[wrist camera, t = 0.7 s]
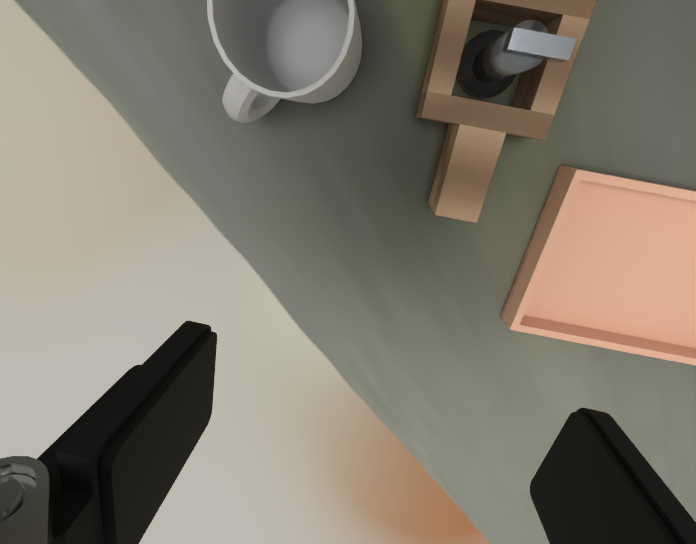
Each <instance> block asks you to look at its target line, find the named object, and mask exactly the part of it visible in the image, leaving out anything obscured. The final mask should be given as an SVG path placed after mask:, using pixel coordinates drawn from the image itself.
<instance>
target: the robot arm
mask: <svg viewBox="0 0 696 544" xmlns="http://www.w3.org/2000/svg"><path fill="white" fill-rule="evenodd" d="M216 344H217V334H216V333H215V332H211V327H210V326H209V325H205V324H201V323H196V322H192V321H186V322H185V323H183V324H182V325H181V327H179V329H178V330H176V331H175V332H174V334H172V336H170V337H169V338H168V339H167V340H166V341H165V342H164V343H163V344H162V346H160V347H159V348H158V349H157V350H156V352H154V353H153V354H152V355H151V356H150V357H149V358H148V359H147V360H146V361H145V362H144V363H143V364H142V365H136V366H134V367H133V368H131V369H130V370H129V371H127V372H126V373H125V374H124V375H123V376H122V377H121V378H120V379H119V380H118V381H117V382H116V383H115V384H114V385H113V386H112V387H111V388H110V389H109V390H108V391H107V392H106V393H105V394H104V395H103V396H102V397H101V398H100V399H99V400H97V401H96V402H95V403H94V404H93V405H92V406H91V407H90V408H89V409H88V410H87V411H86V412H85V413H84V414H83V415H82V416H81V417H80V418H79V419H78V420H77V421H76V422H75V423H74V424H73V425H72V426H71V427H70V428H68V429H67V431H66V432H64V433H63V434H62V435H61V436H60V437H59V438H58V439H57V440H56V441H55V442H54V443H53V444H52V445H51V446H50V447H49V448H48V449H47V450H46V451H45V452H44V453H43V454H42V455H40V456H39V458H37V459H34V458H31V457H28V456H12V457H7V458H1V459H0V544H139V542H140V540H141V538H142V537H143V534H144V533H145V532H146V530H147V528H148V526H149V525H150V523H151V521H152V519H153V518H154V516H155V514H156V513H157V511H158V509H159V507H160V506H161V504H162V502H163V501H164V499H165V497H166V495H167V494H168V492H169V490H170V489H171V487H172V485H173V483H174V482H175V480H176V478H177V476H178V475H179V473H180V471H181V470H182V468H183V466H184V464H185V463H186V461H187V459H188V457H189V456H190V454H191V452H192V451H193V449H194V447H195V445H196V444H197V442H198V440H199V439H200V437H201V435H202V433H203V432H204V430H205V428H206V427H207V425H208V422H209V420H210V417H211V413H212V403H213V388H214V373H215V359H216ZM530 494H531V498H532V500H533V503H534V505H535V508H536V510H537V513H538V515H539V518H540V520H541V523H542V525H543V528H544V530H545V532H546V535H547V537H548V540H549V542H550V544H696V522H695V521H694V520H693V518H692V517H691V516H690V515H689V513H688V512H687V511H686V510H685V508H684V507H683V506H682V505H681V503H680V502H679V501H678V500H677V498H676V497H675V496H674V495H673V493H672V492H671V491H670V489H669V488H668V487H667V486H666V484H665V483H664V482H663V481H662V479H661V478H660V477H659V476H658V474H657V473H656V472H655V471H654V469H653V468H652V467H651V466H650V464H649V463H648V462H647V461H646V459H645V458H644V457H643V456H642V454H641V453H640V452H639V451H638V449H637V448H636V447H635V445H634V444H633V443H632V442H631V440H630V439H629V438H628V437H627V435H626V434H625V433H624V432H623V430H622V429H621V428H620V427H619V425H618V424H617V423H616V422H615V420H614V419H613V418H612V417H611V416H610V415H609V414H607V413H605V412H601V411H596V410H591V409H587V408H580V409H578V410H577V411H576V412H573V413H571V414H570V416H569V417H568V419H567V421H566V422H565V424H564V426H563V428H562V429H561V431H560V433H559V435H558V436H557V438H556V440H555V441H554V443H553V445H552V447H551V448H550V450H549V452H548V453H547V455H546V457H545V459H544V460H543V462H542V464H541V466H540V467H539V469H538V471H537V472H536V474H535V476H534V478H533V479H532V481H531V484H530Z"/></svg>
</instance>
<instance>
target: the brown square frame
mask: <svg viewBox="0 0 696 544" xmlns="http://www.w3.org/2000/svg"><path fill="white" fill-rule="evenodd" d="M596 1H597V0H442V4H441V9H440V13H439V18H438V22H437V26H436V31H435V35H434V39H433V44H432V48H431V53H430V57H429V61H428V66H427V70H426V75H425V79H424V83H423V88H422V92H421V97H420V101H419V105H418V110H417V114H416V117H417V118H422V119H427V120H433V121H438V122H444V123H449V125H448V129H447V133H446V137H445V141H444V144H443V148H442V152H441V156H440V160H439V163H438V167H437V171H436V175H435V178H434V182H433V186H432V190H431V194H430V197H429V201H428V204H429V205H430V207H431V209H432V211H433V212H434V214H435V215H438V216H443V217H448V218H454V219H459V220H464V221H470V222H475V223H477V221H478V218H479V215H480V212H481V209H482V206H483V203H484V199H485V196H486V193H487V190H488V187H489V184H490V181H491V178H492V175H493V172H494V169H495V166H496V163H497V160H498V157H499V154H500V151H501V147H502V144H503V141H504V138H505V135H506V134H508V135H513V136H518V137H524V138H532V139H540V140H545V139H546V136H547V133H548V131H549V128H550V125H551V123H552V120H553V117H554V115H555V112H556V109H557V106H558V104H559V101H560V98H561V96H562V93H563V90H564V88H565V85H566V82H567V79H568V77H569V74H570V71H571V69H572V66H573V63H574V61H575V58H576V55H577V52H578V50H579V47H580V44H581V42H582V39H583V36H584V34H585V31H586V28H587V26H588V23H589V20H590V17H591V15H592V12H593V9H594V7H595V4H596ZM471 19H475V20H481V21H486V22H491V23H497V24H502V25H508V26H513V27H515V26H516V25H518V24H519V23H521V22H523V21H526V20H536V21H539V22H541V23H542V24H543V25H544V26H545V27H546V28H547V30H548V32H549V34H553V35H559V36H564V37H569V38H575V39H576V42H575V45H574V47H573V50H572V53H571V56H570V58H569V60H568V61H565V62H562V63H557V62H552V61H547V60H542V61H541V62H540V63H539V64H538V65H537V66H536V67H534V68H532V69H530V70H527V71H524V72H522V74H521V77H520V80H519V83H518V86H517V89H516V93H515V96H514V99H513V102H512V105H511V107H510V106H504V105H499V104H494V103H488V102H483V101H478V100H472V99H467V98H461V97H456V96H451V94H452V90H453V86H454V82H455V79H456V75H457V71H458V67H459V63H460V59H461V55H462V52H463V48H464V44H465V40H466V36H467V32H468V28H469V24H470V21H471Z"/></svg>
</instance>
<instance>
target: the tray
mask: <svg viewBox="0 0 696 544" xmlns="http://www.w3.org/2000/svg"><path fill="white" fill-rule="evenodd" d="M501 316H502V318H503V319H504V321H505V322H506V324H507V326H508V327H509V329H510V330H515V331H520V332H525V333H530V334H536V335H541V336H546V337H551V338H556V339H561V340H567V341H572V342H577V343H582V344H587V345H593V346H598V347H603V348H608V349H613V350H619V351H624V352H629V353H634V354H639V355H644V356H650V357H655V358H660V359H665V360H670V361H676V362H681V363H686V364H691V365H696V191H695V190H690V189H685V188H679V187H674V186H669V185H663V184H658V183H653V182H647V181H642V180H637V179H631V178H626V177H621V176H615V175H610V174H605V173H599V172H594V171H589V170H584V169H578V168H573V167H568V166H562V165H560V167H559V169H558V172H557V174H556V177H555V179H554V182H553V184H552V187H551V189H550V192H549V194H548V197H547V199H546V202H545V204H544V207H543V209H542V212H541V214H540V217H539V220H538V222H537V225H536V227H535V230H534V232H533V235H532V237H531V240H530V242H529V245H528V247H527V250H526V252H525V255H524V257H523V260H522V262H521V265H520V267H519V270H518V272H517V275H516V277H515V280H514V282H513V285H512V287H511V290H510V293H509V295H508V298H507V300H506V303H505V305H504V308H503V310H502V313H501Z"/></svg>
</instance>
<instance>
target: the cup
mask: <svg viewBox="0 0 696 544" xmlns="http://www.w3.org/2000/svg"><path fill="white" fill-rule="evenodd" d="M207 10H208V21H209V25H210V29H211V33H212V37H213V41H214V43H215V45H216V47H217V49H218V51H219V53H220V55H221V57H222V59H223V61H224V62H225V63H226V65H227V66H228V67H229V68H230V70H231V71H232V72H233V74H232V76H231V78H230V80H229V82H228V84H227V86H226V88H225V91H224V95H223V99H222V102H223V105H224V108H225V110H226V112H227V114H228V116H229V117H230V118H232V119H234V120H236V121H239V122H241V123H249V122H252V121H255V120H256V119H258V118H260V117H262V116H263V115H265V114H267V113H268V112H269V111H270V110H271V109H272V108H273V107H274V106H275V105H276V104H277V103H278V102H279V100H280V99H286V100H291V101H296V102H302V103H311V104H314V103H320V102H326V101H328V100H330V99H332V98H334V97H336V96H338V95H339V94H340V93H342V92H343V91H344V90H345V89H346V88H347V87H348V86H349V84H350V83H351V81H352V80H353V78H354V77H355V75H356V73H357V70H358V67H359V64H360V61H361V53H362V44H363V42H362V34H361V26H360V21H359V17H358V12H357V8H356V3H355V0H207Z"/></svg>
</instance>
